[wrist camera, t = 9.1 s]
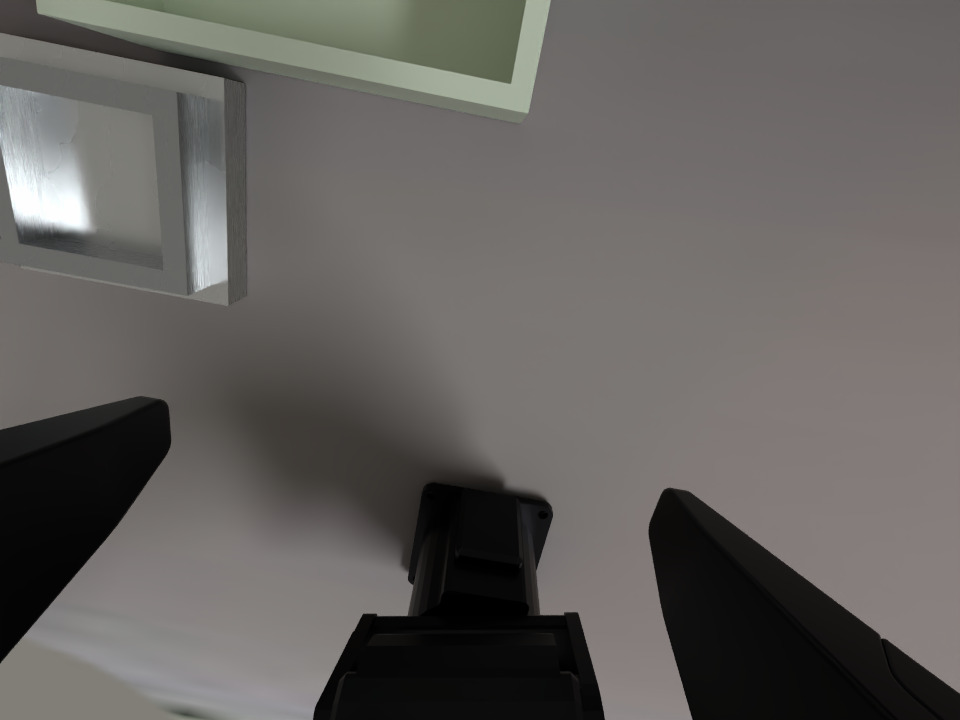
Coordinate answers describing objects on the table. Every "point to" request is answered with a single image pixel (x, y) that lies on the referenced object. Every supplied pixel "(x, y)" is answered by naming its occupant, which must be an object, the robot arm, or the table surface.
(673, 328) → the table surface
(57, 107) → the socket block
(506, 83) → the bin
